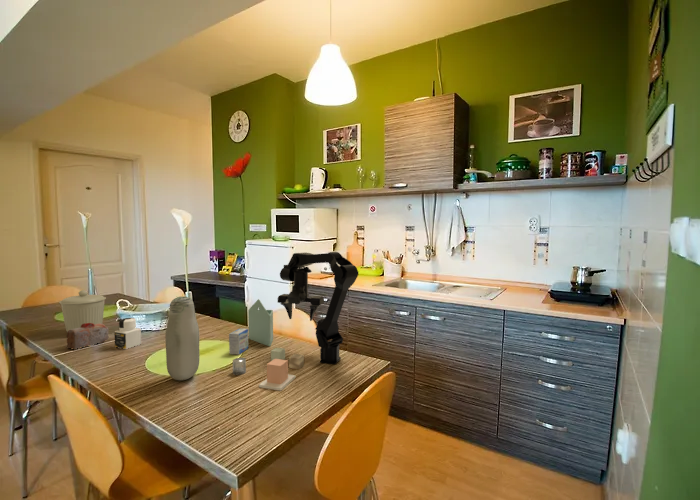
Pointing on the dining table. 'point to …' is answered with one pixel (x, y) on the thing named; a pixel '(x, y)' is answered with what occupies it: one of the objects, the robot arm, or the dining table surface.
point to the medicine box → (238, 341)
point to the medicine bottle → (127, 334)
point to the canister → (82, 310)
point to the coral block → (277, 371)
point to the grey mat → (277, 386)
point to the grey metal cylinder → (239, 366)
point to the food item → (87, 335)
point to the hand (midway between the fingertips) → (300, 319)
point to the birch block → (296, 361)
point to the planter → (260, 324)
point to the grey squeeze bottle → (182, 339)
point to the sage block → (278, 353)
